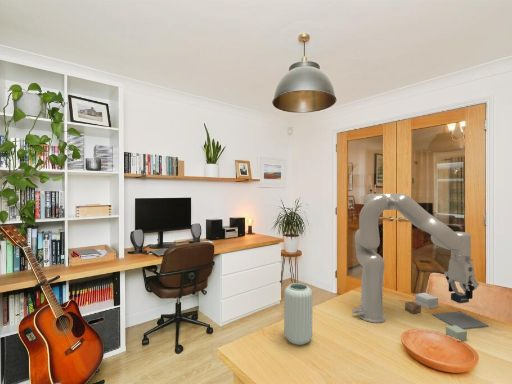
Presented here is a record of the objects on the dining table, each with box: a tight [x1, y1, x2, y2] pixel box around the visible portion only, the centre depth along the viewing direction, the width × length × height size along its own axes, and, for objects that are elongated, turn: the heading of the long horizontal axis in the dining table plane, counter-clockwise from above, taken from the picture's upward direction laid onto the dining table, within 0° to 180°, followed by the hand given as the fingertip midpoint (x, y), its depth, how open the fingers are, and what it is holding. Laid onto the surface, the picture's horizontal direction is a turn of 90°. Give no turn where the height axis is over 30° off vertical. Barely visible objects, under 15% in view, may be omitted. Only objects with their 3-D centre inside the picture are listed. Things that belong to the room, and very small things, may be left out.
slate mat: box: [432, 310, 489, 330], centre depth 128 cm, size 16×14×1 cm
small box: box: [414, 292, 439, 310], centre depth 145 cm, size 8×8×5 cm
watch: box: [450, 280, 470, 304], centre depth 127 cm, size 6×8×11 cm
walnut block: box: [404, 301, 422, 315], centre depth 137 cm, size 5×5×4 cm
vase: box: [283, 282, 313, 346], centre depth 111 cm, size 12×12×22 cm
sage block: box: [445, 325, 468, 342], centre depth 113 cm, size 5×5×4 cm
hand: (460, 294), depth 127 cm, fingers closed on watch, 8 cm apart
